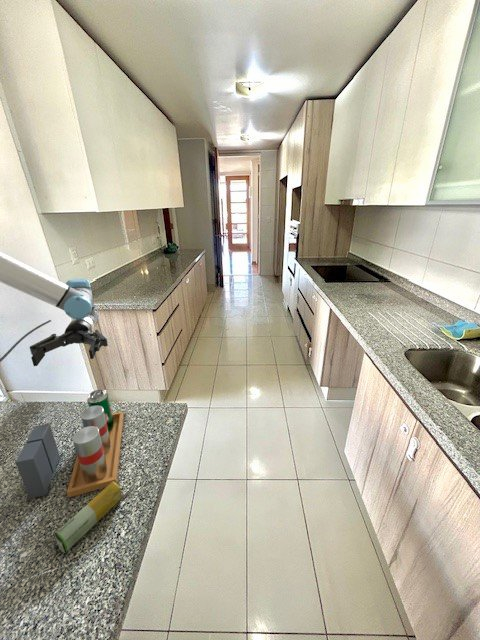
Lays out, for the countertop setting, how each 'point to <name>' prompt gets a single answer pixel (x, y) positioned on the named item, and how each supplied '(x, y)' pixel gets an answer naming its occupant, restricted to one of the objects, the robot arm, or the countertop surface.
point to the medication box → (87, 517)
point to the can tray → (112, 460)
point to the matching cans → (92, 444)
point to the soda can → (102, 400)
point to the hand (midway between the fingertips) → (63, 358)
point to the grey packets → (38, 460)
